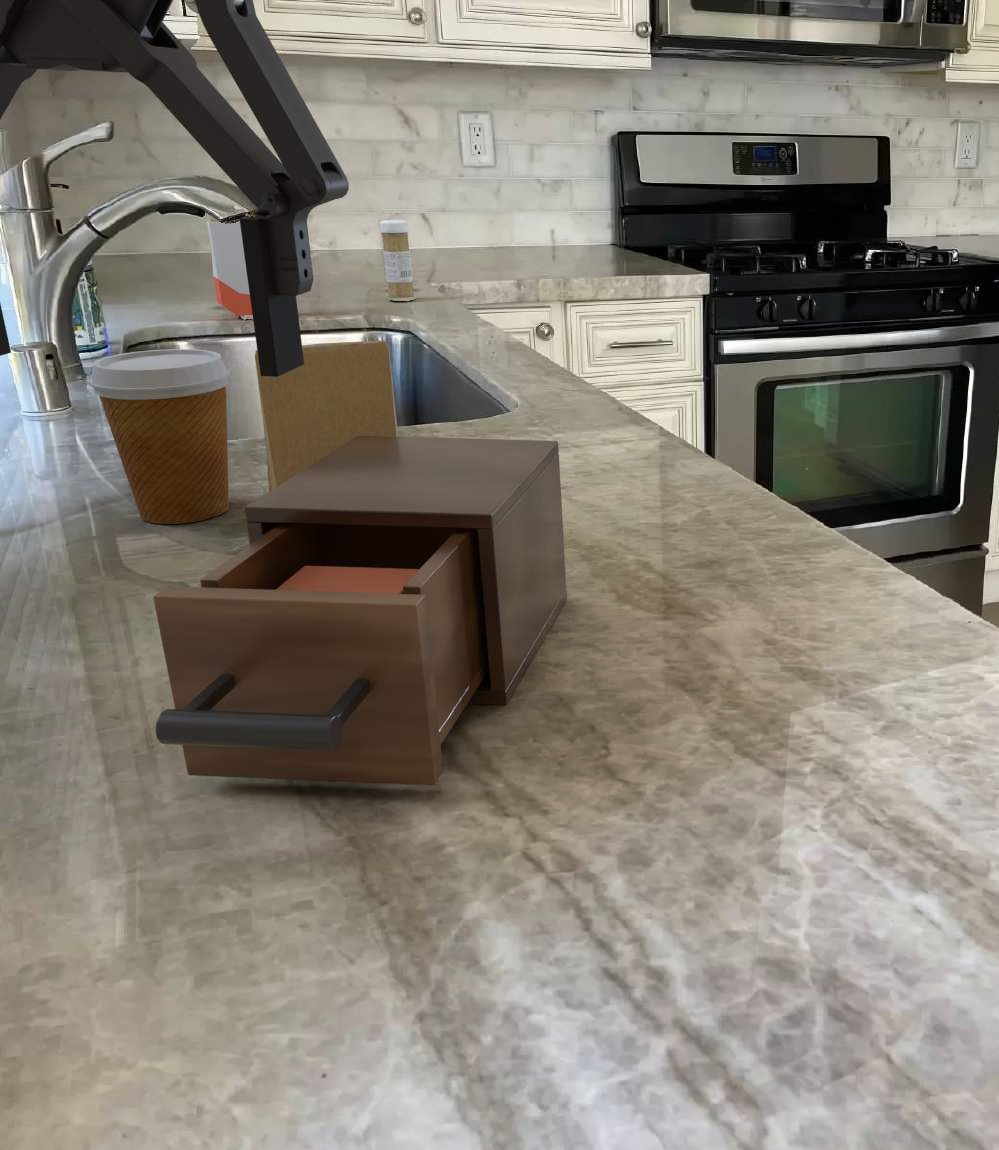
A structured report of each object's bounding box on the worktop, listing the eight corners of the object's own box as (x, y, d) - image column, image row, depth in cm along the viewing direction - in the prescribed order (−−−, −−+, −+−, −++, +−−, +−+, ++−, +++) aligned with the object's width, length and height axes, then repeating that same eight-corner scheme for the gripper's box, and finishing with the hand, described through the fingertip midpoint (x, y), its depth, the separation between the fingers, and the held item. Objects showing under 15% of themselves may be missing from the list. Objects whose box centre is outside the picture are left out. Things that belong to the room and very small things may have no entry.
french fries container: (219, 317, 180) (200, 197, 174) (291, 312, 186) (276, 196, 179) (224, 321, 177) (205, 199, 170) (298, 316, 182) (282, 197, 176)
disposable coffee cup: (239, 488, 96) (216, 344, 92) (261, 518, 88) (237, 363, 84) (111, 505, 91) (80, 354, 87) (123, 539, 84) (90, 376, 79)
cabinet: (506, 705, 60) (491, 514, 57) (273, 696, 61) (243, 507, 57) (567, 600, 74) (558, 440, 70) (376, 593, 75) (356, 435, 71)
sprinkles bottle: (409, 298, 203) (401, 219, 198) (419, 301, 200) (411, 220, 195) (384, 300, 201) (375, 220, 196) (393, 303, 197) (385, 221, 192)
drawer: (396, 850, 47) (372, 654, 44) (125, 838, 47) (81, 644, 44) (514, 657, 64) (502, 506, 61) (314, 650, 64) (292, 500, 61)
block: (320, 673, 59) (304, 565, 57) (434, 677, 59) (423, 568, 57) (266, 729, 54) (246, 612, 51) (392, 734, 53) (378, 616, 51)
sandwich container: (378, 491, 95) (357, 309, 90) (412, 548, 83) (390, 339, 77) (267, 504, 92) (238, 315, 86) (285, 566, 79) (252, 348, 74)
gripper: (-387, -236, 40) (-211, 370, 48) (319, -220, 39) (379, 394, 47) (-207, -183, 47) (-80, 338, 55) (395, -169, 46) (436, 358, 54)
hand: (132, 365), depth 51 cm, fingers open, 13 cm apart
